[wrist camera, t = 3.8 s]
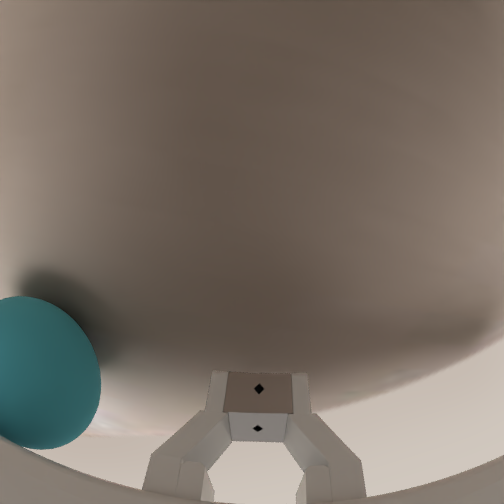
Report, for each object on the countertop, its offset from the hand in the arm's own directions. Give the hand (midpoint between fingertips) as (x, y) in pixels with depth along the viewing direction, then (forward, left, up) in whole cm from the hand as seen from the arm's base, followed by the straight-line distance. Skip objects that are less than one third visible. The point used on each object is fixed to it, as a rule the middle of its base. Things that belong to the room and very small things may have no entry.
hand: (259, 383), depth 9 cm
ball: (+4, -8, +1) cm, 9 cm away
